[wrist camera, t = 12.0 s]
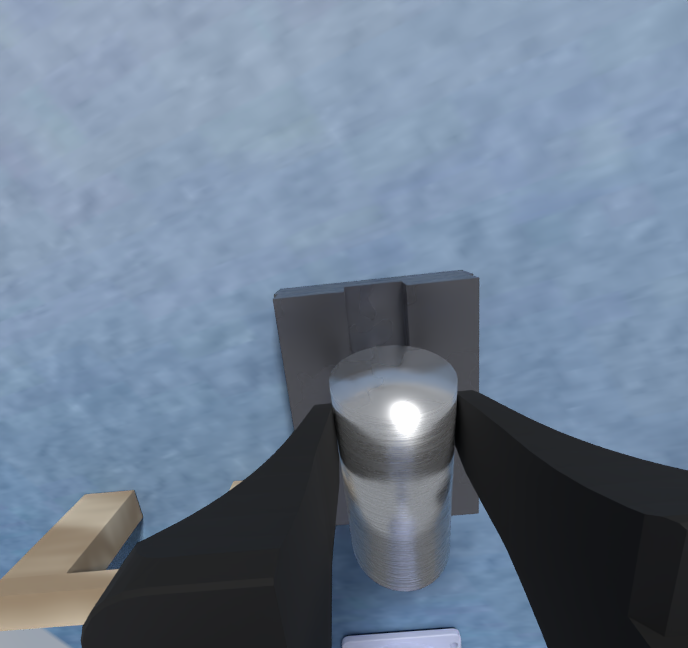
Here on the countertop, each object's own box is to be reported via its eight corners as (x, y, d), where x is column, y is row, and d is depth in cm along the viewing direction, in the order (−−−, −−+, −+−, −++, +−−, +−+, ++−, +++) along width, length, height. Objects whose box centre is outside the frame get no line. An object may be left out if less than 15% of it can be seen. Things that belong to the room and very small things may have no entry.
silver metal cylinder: (427, 486, 16) (468, 577, 12) (345, 503, 15) (361, 602, 12) (428, 338, 13) (484, 403, 9) (323, 355, 12) (337, 429, 9)
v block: (464, 475, 19) (482, 513, 17) (311, 488, 20) (306, 527, 17) (461, 270, 16) (483, 277, 14) (279, 289, 17) (267, 299, 14)
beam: (289, 504, 20) (267, 610, 14) (95, 521, 20) (0, 630, 15) (283, 476, 19) (259, 575, 14) (85, 494, 20) (-18, 597, 14)
